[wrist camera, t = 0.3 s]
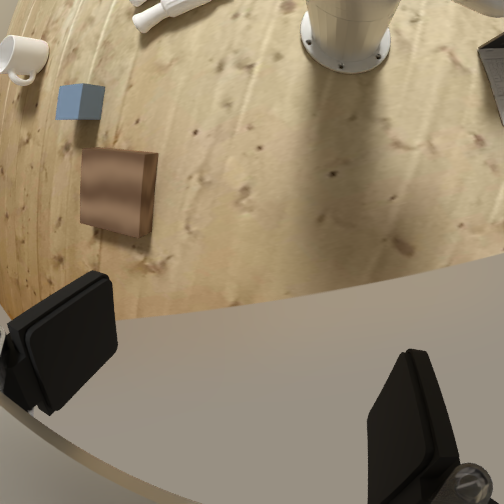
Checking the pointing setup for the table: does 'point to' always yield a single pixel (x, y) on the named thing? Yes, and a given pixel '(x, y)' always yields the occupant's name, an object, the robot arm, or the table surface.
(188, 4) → the binoculars
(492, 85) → the laptop
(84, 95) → the slate cube
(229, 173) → the table surface
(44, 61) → the mug
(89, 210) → the walnut base
